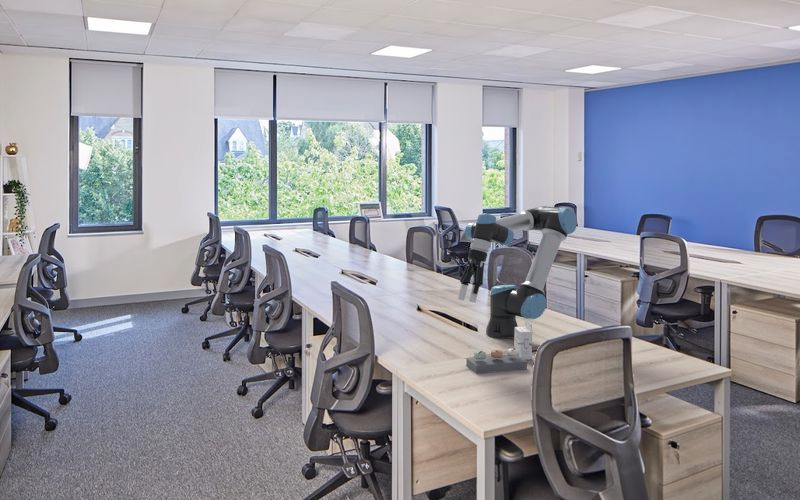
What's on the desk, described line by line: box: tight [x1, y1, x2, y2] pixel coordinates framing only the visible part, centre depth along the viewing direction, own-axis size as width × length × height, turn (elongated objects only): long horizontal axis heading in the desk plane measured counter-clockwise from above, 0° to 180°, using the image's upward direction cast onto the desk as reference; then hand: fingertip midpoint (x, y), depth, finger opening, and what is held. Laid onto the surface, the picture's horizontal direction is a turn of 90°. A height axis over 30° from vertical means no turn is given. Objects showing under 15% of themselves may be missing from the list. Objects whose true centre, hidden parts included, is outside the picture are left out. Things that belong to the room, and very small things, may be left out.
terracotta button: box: [490, 349, 504, 358], centre depth 245 cm, size 4×4×2 cm
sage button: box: [473, 350, 487, 360], centre depth 243 cm, size 4×4×2 cm
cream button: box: [507, 348, 519, 357], centre depth 247 cm, size 4×4×2 cm
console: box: [465, 354, 528, 374], centre depth 245 cm, size 21×10×3 cm, turn 105°
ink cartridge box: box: [513, 319, 533, 361], centre depth 259 cm, size 9×5×15 cm, turn 9°
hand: (466, 300), depth 259 cm, fingers open, 13 cm apart
